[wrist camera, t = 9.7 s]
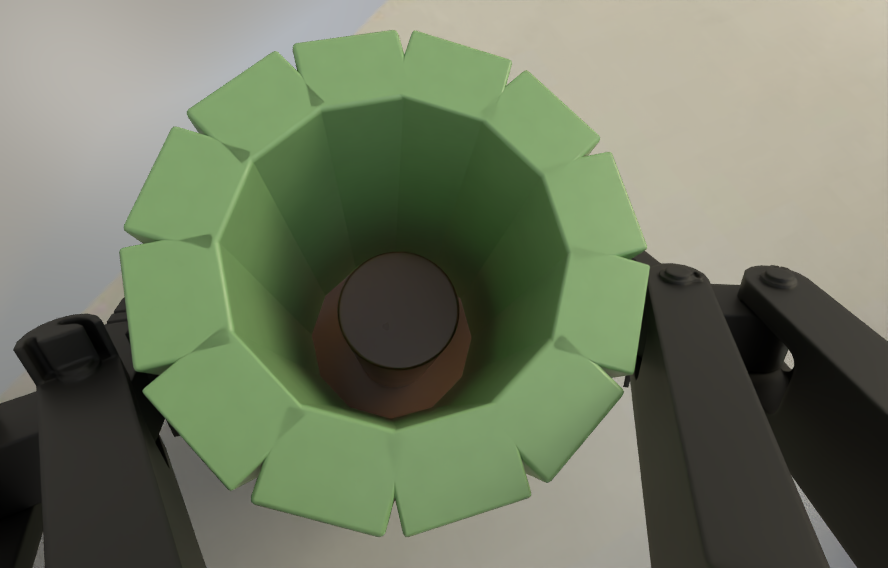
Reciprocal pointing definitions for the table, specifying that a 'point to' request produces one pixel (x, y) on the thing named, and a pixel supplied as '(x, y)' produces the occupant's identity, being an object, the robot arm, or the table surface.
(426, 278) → the stacking stand
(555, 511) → the table surface
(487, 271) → the green tube
